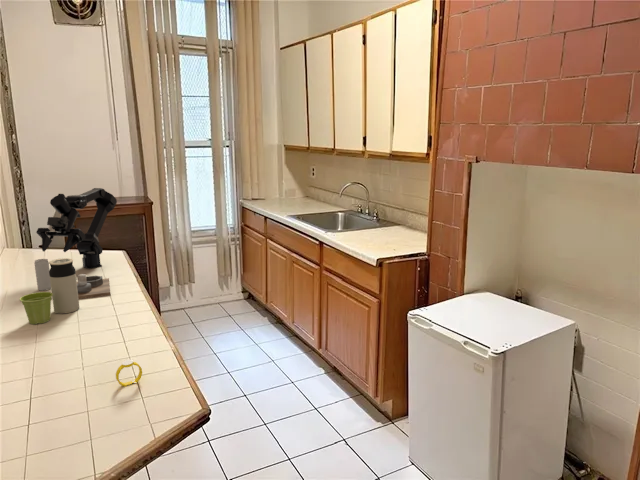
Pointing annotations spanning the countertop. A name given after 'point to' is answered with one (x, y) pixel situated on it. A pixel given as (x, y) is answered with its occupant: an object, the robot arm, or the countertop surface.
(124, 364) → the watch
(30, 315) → the plant pot
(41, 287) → the beverage can
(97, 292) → the pin board
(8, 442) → the countertop surface
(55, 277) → the travel mug
